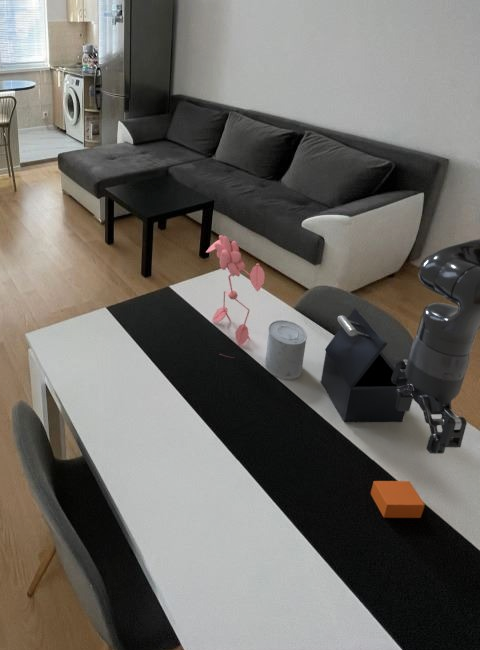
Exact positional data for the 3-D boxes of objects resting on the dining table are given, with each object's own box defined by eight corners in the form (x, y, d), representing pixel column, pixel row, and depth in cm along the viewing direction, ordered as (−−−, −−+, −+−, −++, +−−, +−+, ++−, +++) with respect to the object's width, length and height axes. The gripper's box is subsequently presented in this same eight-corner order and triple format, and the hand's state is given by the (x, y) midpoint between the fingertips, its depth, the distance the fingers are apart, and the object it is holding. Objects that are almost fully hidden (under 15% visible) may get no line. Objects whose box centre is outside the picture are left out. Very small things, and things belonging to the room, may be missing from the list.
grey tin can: (261, 370, 121) (264, 336, 116) (269, 349, 128) (272, 316, 123) (298, 384, 115) (303, 349, 111) (304, 361, 123) (309, 327, 118)
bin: (372, 381, 115) (380, 350, 111) (402, 422, 103) (411, 388, 99) (320, 382, 116) (325, 351, 112) (344, 422, 104) (350, 389, 100)
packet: (405, 493, 89) (409, 480, 87) (420, 518, 84) (425, 505, 83) (370, 493, 89) (373, 480, 88) (383, 517, 85) (387, 504, 83)
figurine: (217, 305, 148) (221, 215, 136) (270, 356, 125) (282, 253, 113) (178, 317, 144) (179, 225, 131) (227, 372, 121) (233, 267, 108)
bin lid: (357, 308, 106) (335, 301, 106) (387, 343, 95) (362, 335, 95) (327, 350, 112) (305, 343, 111) (352, 388, 100) (328, 381, 100)
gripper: (495, 396, 66) (469, 467, 72) (430, 332, 79) (412, 397, 85) (444, 396, 67) (422, 467, 73) (388, 333, 80) (373, 397, 86)
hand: (417, 429), depth 79 cm, fingers open, 8 cm apart
